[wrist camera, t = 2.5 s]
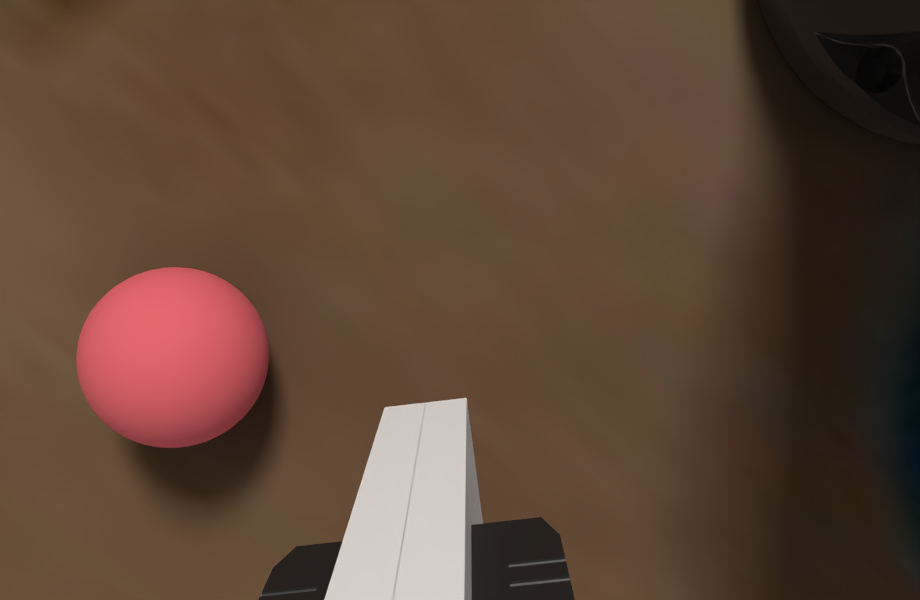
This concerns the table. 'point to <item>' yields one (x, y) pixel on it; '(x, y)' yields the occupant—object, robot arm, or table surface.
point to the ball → (172, 357)
